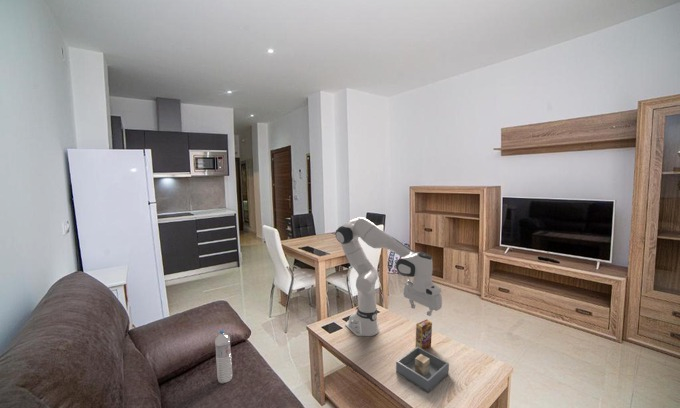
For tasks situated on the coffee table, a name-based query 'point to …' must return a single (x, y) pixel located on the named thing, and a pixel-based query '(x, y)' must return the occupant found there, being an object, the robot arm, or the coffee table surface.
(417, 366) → the beech block
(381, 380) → the coffee table surface
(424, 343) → the candy box
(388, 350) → the coffee table surface
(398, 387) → the coffee table surface
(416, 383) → the bin
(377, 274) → the robot arm
